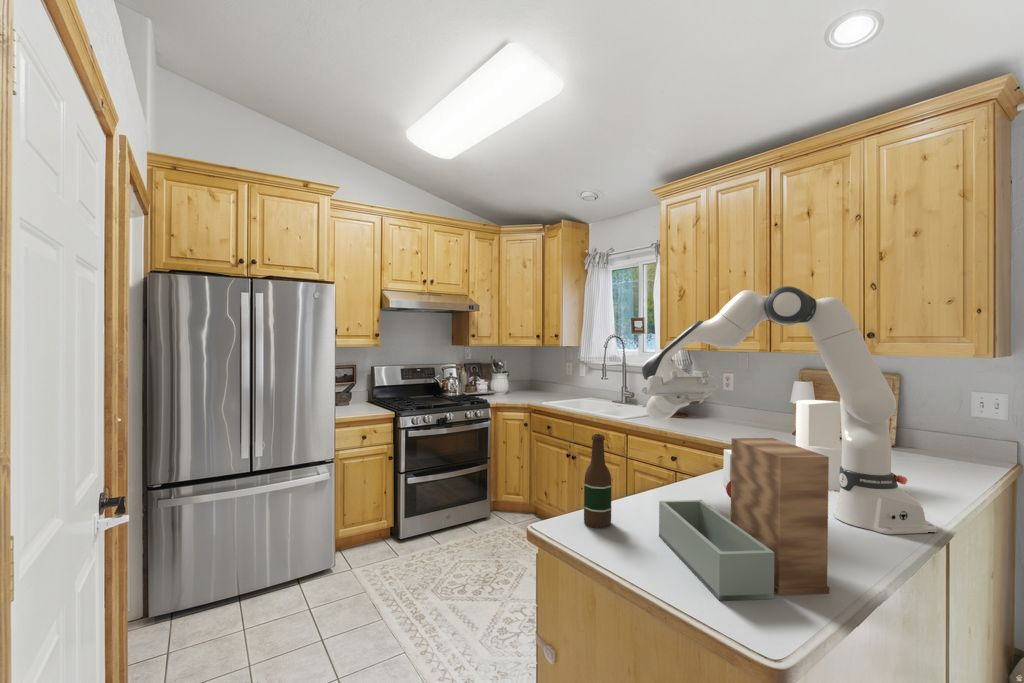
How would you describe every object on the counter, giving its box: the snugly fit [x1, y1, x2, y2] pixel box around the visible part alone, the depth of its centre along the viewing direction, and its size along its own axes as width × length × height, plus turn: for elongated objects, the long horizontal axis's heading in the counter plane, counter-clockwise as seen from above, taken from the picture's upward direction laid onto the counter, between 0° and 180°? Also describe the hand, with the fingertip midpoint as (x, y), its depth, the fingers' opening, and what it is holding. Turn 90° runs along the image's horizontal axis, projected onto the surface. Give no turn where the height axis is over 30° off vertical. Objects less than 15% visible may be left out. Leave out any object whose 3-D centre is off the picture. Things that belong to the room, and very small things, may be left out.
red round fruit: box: [725, 481, 731, 499], centre depth 148 cm, size 6×6×8 cm
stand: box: [730, 437, 831, 596], centre depth 104 cm, size 19×11×27 cm, turn 5°
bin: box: [658, 499, 775, 602], centre depth 108 cm, size 30×11×9 cm, turn 5°
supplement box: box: [722, 448, 731, 489], centre depth 160 cm, size 7×7×13 cm
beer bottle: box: [583, 433, 613, 530], centre depth 130 cm, size 8×8×24 cm
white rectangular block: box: [795, 399, 842, 492], centre depth 168 cm, size 17×17×28 cm
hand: (690, 373), depth 135 cm, fingers open, 8 cm apart
